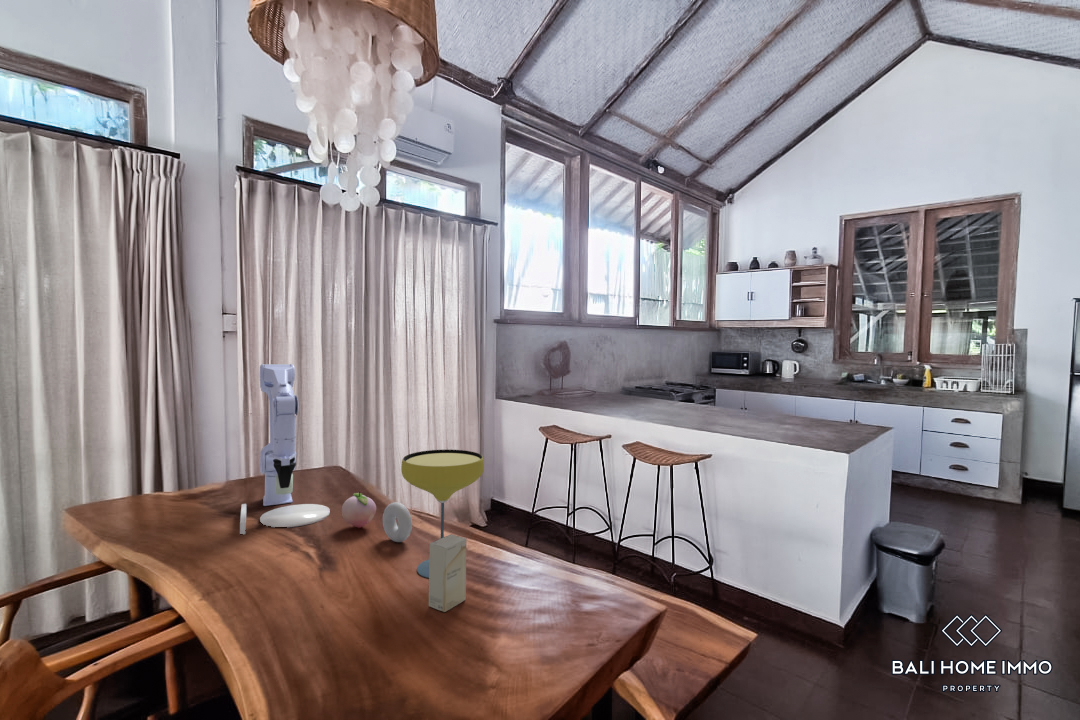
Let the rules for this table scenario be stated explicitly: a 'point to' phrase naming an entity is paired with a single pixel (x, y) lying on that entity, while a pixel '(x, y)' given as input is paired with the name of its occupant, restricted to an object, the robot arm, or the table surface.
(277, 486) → the green cylinder
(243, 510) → the light grey rectangular bar
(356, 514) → the decorative fruit
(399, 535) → the donut
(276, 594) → the table surface
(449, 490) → the cocktail glass
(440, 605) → the skincare box
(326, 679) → the table surface
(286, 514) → the white plate
